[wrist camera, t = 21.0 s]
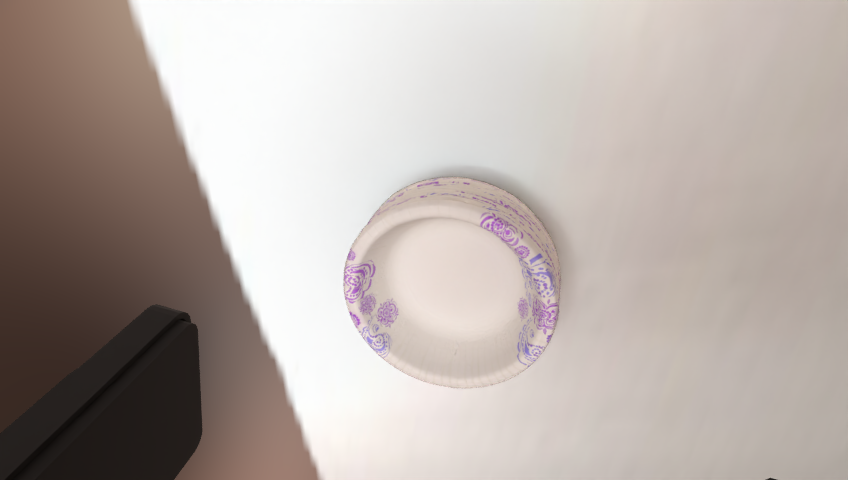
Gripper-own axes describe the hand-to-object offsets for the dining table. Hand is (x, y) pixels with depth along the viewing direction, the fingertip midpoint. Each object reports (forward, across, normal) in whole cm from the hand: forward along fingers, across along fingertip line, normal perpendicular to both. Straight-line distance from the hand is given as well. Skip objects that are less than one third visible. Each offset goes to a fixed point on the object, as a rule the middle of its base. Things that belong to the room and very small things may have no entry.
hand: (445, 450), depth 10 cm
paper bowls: (+34, +2, +15) cm, 37 cm away
